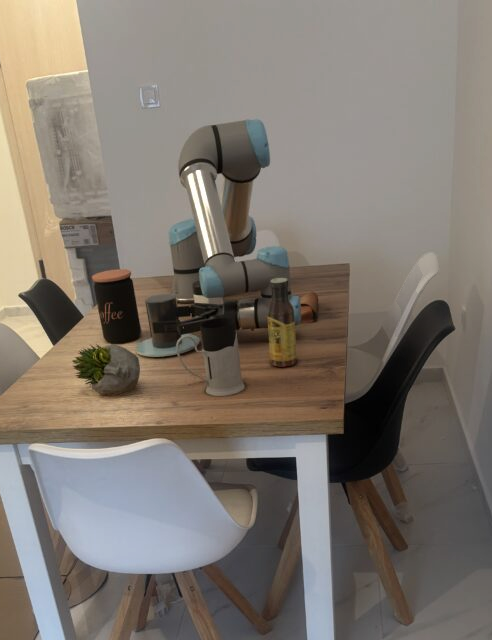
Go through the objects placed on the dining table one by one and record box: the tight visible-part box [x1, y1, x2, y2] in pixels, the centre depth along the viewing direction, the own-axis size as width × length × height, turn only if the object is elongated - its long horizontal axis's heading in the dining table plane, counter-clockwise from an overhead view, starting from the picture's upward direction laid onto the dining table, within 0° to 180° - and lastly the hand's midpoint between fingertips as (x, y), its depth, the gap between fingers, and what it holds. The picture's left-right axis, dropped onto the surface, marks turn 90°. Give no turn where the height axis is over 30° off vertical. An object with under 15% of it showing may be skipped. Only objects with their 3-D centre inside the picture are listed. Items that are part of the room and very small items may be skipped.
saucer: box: [135, 333, 201, 358], centre depth 204 cm, size 17×17×1 cm
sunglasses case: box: [299, 291, 319, 324], centre depth 217 cm, size 18×7×7 cm, turn 173°
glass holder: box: [176, 318, 246, 397], centre depth 168 cm, size 9×14×15 cm, turn 111°
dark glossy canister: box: [144, 293, 182, 348], centre depth 200 cm, size 8×8×12 cm
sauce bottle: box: [267, 278, 297, 368], centre depth 178 cm, size 7×6×20 cm
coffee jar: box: [91, 268, 142, 345], centre depth 212 cm, size 11×11×18 cm
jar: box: [192, 281, 224, 317], centre depth 215 cm, size 9×8×12 cm
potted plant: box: [71, 343, 141, 397], centre depth 177 cm, size 12×13×15 cm
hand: (159, 320), depth 200 cm, fingers open, 13 cm apart
